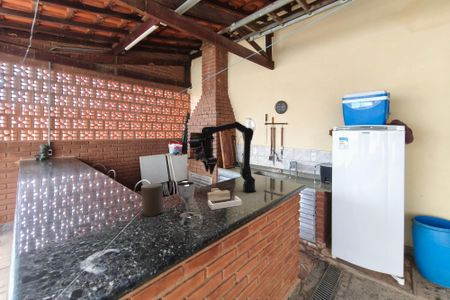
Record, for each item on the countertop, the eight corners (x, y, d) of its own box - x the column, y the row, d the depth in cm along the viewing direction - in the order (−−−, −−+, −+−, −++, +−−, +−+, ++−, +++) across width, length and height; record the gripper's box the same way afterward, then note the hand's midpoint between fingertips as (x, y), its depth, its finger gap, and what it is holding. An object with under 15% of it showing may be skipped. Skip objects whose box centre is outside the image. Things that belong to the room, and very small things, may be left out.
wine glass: (175, 216, 95) (173, 184, 94) (186, 210, 102) (184, 180, 101) (189, 219, 91) (187, 186, 90) (199, 213, 98) (197, 182, 97)
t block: (205, 196, 124) (204, 189, 124) (224, 193, 128) (223, 187, 128) (209, 201, 114) (209, 194, 114) (230, 198, 118) (229, 191, 117)
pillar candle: (157, 217, 96) (155, 185, 95) (138, 216, 98) (136, 184, 97) (167, 209, 105) (165, 180, 104) (149, 208, 107) (148, 180, 106)
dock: (236, 200, 114) (236, 196, 114) (241, 204, 107) (241, 200, 107) (208, 204, 109) (207, 200, 109) (211, 209, 102) (211, 204, 102)
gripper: (191, 147, 132) (192, 172, 133) (197, 149, 114) (199, 177, 115) (208, 146, 135) (209, 170, 137) (217, 147, 118) (218, 175, 119)
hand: (209, 173), depth 127 cm, fingers open, 9 cm apart
